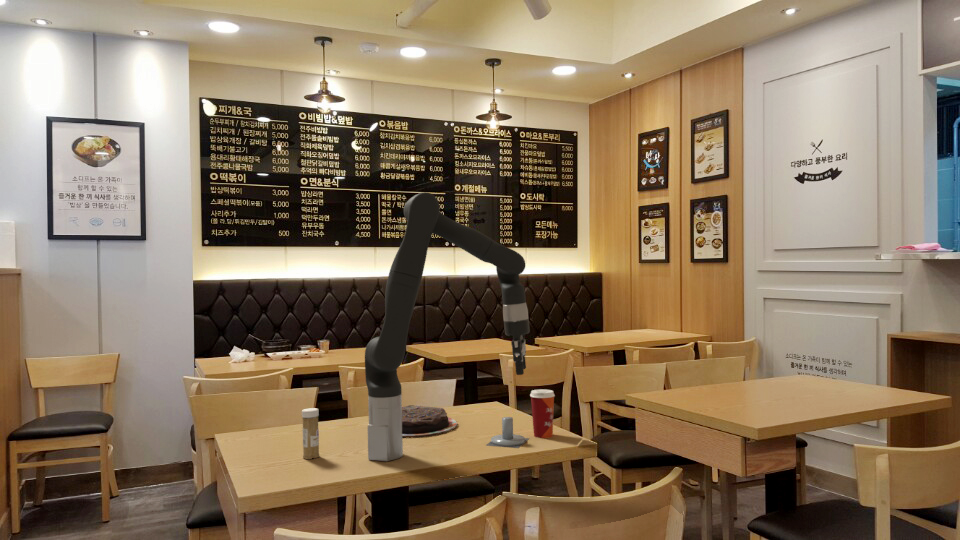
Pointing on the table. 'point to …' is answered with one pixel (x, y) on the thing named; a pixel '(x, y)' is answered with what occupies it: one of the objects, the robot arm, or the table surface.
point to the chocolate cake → (425, 421)
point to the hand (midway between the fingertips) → (521, 371)
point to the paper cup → (542, 412)
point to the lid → (507, 435)
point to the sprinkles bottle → (310, 433)
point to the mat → (507, 446)
